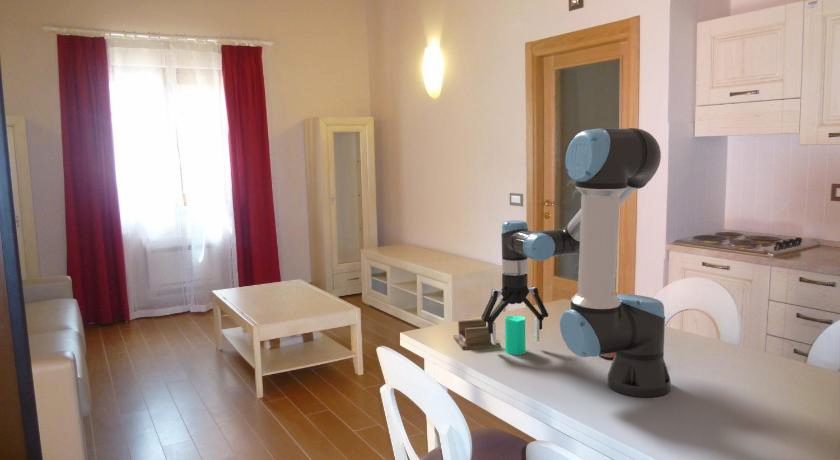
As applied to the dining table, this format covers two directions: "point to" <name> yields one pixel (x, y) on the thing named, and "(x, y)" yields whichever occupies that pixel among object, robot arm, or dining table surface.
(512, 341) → the candle
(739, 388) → the dining table surface
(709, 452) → the dining table surface
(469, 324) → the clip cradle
